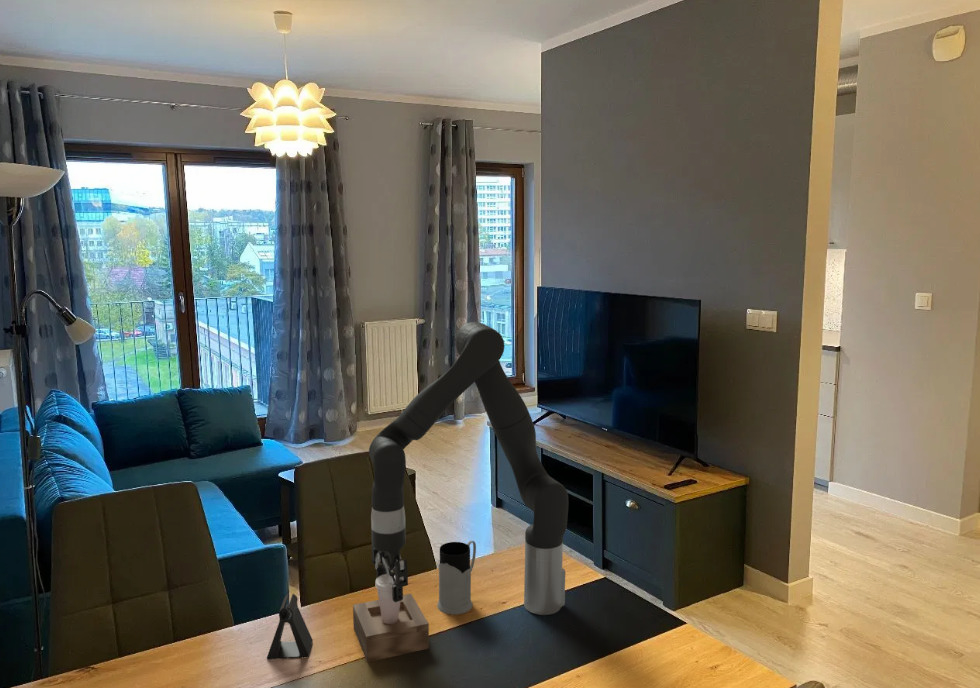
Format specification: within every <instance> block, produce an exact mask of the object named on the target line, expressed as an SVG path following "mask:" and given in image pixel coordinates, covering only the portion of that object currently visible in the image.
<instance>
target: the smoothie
mask: <svg viewBox="0 0 980 688" xmlns="http://www.w3.org/2000/svg"><path fill="white" fill-rule="evenodd" d="M391 572H394V570H391ZM394 578H395V576H394ZM374 585H375V588H376V591H377V596H378V600H379V604H380V610H381V617H382V622H384V623H386V624H393V623H395V622H397V621H398V617H399V609H400V601H398V602H394V601H393V595H392V586H393V585H392V582H391V578H390V577H388V575H387V574H384V575H381V576H379V577H378V578H377V577H376V579H375V584H374Z"/></svg>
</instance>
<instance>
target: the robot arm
mask: <svg viewBox="0 0 980 688" xmlns="http://www.w3.org/2000/svg"><path fill="white" fill-rule="evenodd" d="M455 348H456V351H457V353H458V355H459V356H458V357H457V359H456V360H455V362H454V363H453V364H452V366H450V368H449V369H447V370H446V372H445V373H443V375H441V376H440V377H439V378H437V379H436V380H435V381H433V382H432V383H430V384H428V385H427V386H426V387H425V388H423V389H422V390H421V391H420V392H419V393H418V394H417V395H415V397H413V399H412V400H411V401H410V402H409V404H407V406H406V407H405V408H404V409H403V411H401V412H400V414H399V415H398V417H396V418H395V419H394V420H393V421H391V422H390V423H389V424H388V425H387V426H386V427H384V428H383V429H382V430H381V431H380V432H378V434H377V435H376V436H375V437H374V438H373V439H372V441H371V443H370V445H369V448H368V456H369V459H370V460H371V462H372V464H373V473H374V475H373V476H374V478H373V481H374V482H373V483H372V487H371V514H370V520H371V521H370V523H371V524H370V525H371V527H370V529H371V530H370V531H371V564H373V565H374V569H375V570H376V579H377V578H378V577H379V576H381V575H384V574H387V575H388V577H390V578H391V582H392V585H393V586H392V595H393V601H394V602H398V601H401V600H402V599H403V595H404V590H403V589H404V587H406V586H409V577H408V575H409V574H408V561H407V558H403V559H402V557H401V556H402V555H401V553H400V550H401V549H402V548H403V547H404V546H405V545H406V542H407V541H406V512H405V498H404V497H405V491H404V483H405V476H406V469H407V468H406V467H407V466H406V465H407V464H406V463H407V459H406V458H407V457H406V453H405V448H407V446H409V445H410V444H411V443H412V442H413V441H419V440H421V439H422V438H423V437H424V436H425V435H426V434H427V432H429V431H430V429H431V428H432V426H434V424H435V423H436V422H437V421H438V420H439V419H440V418H441V416H442V415H443V414H444V413H445V412H446V411H447V409H448V408H450V406H451V405H452V404H453V403H454V402H455V401H456V400H457V399H458V398H459V397H460V396H461V395H462V394H463V393H465V391H466V390H468V389H469V388H470V387H471V386H472V385H473V384H474V383H475V384H474V385H475V386H476V388H477V391H478V394H479V397H480V399H481V402H482V406H483V408H484V410H485V412H486V415H487V417H488V420H489V423H490V425H491V427H492V429H493V432H494V434H495V436H496V439H497V440H498V443H499V444H500V447H501V449H502V452H503V453H504V455H505V457H506V459H507V461H508V463H509V465H510V467H511V469H512V473H513V475H514V478H515V479H514V480H515V482H516V485H517V489H518V492H519V495H520V499H521V500H522V503H523V504H524V506H526V507H527V508H528V510H529V509H530V510H531V511H532V512H533V523H532V524H530V525H529V526H527V527H526V528H525V534H524V539H525V540H524V544H525V545H524V580H523V581H524V586H523V587H524V588H523V589H524V591H523V592H524V594H523V595H524V596H523V605H524V608H525V609H526V610H527V611H528V612H530V613H532V614H534V615H540V616H548V615H554V614H556V613H558V612H559V611H560V610H561V609H562V607H564V606H565V603H566V602H565V601H566V599H565V598H566V569H565V568H563V556H564V555H563V554H564V553H563V552H564V551H563V549H564V535H566V532H567V529H568V527H567V526H568V517H569V516H568V514H569V494H568V491H567V489H566V487H565V486H564V485H563V484H562V483H560V482H559V481H557V480H556V479H554V478H553V477H551V476H550V475H549V474H548V473H547V471H546V469H545V468H544V466H543V464H542V462H541V460H540V457H539V455H538V452H537V446H536V445H537V431H536V427H535V424H534V421H533V418H532V416H531V414H530V412H529V409H528V407H527V405H526V403H525V400H524V399H523V397H522V396H521V395H520V393H519V391H518V390H517V388H515V386H514V385H513V383H512V381H511V380H510V379H509V377H508V376H507V374H506V373H505V371H504V368H503V366H502V364H501V362H500V359H501V358H502V357H503V355H504V351H505V340H504V338H503V336H502V335H501V333H500V332H498V331H497V330H496V329H494V328H492V327H490V326H488V325H487V324H484V323H481V322H479V321H478V322H477V321H471V322H467V323H465V324H463V325H462V326H461V327H460V328H459V329H458V331H457V334H456V337H455ZM391 570H393V572H391ZM394 576H395V578H394Z"/></svg>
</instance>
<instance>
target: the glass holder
mask: <svg viewBox="0 0 980 688" xmlns="http://www.w3.org/2000/svg"><path fill="white" fill-rule="evenodd" d="M471 545H472V546H473V549H472V558H471ZM476 550H477V545H476V541H474V540H469V541H468V542H467V543H465V542H461V541H450V542H445V543H444V544H442V545H441V546H440V547H439V564H438V601H437V605H436V607H437V609H438V610H439V611H440V612H442V613H443V614H447V615H462V614H465V613H467V612H469V611H471V610H472V608H473V601H472V599H471V597H472V593H471V592H472V589H471V588H472V584H471V583H472V578H471V577H472V572H473V568H474V566H475V565H474V564H475V561H476V553H477V551H476Z"/></svg>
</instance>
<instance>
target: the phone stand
mask: <svg viewBox="0 0 980 688" xmlns="http://www.w3.org/2000/svg"><path fill="white" fill-rule="evenodd" d="M289 596H290V595H289V593H288V594H285V596H284V597H283V601H282V604H281V606H280V609H279V611H278V617H279V622H278V625H277V628H276V630H275V633H274V636H273V639H272V642H271V643H270V644H271V645H270V647H269V651H268V654H267V656H266V659H267V660H286V659H289V658H290V659H305V658H304V657H308V658H309V656H310V653H311V649H312V646H313V641H314V640H313V638H312V636H311V633H310V631H309V628H308V626H307V624H306V621H305V620H304V617H303V615H302V613H301V610H300V608H299V606H298V600H299V599H298V596H297V595H296V594H294V593H292V594H291V598H290V601H289V603H288V604H287V602H288V599H289ZM285 624H289V627H290V629H291V632H292V636H293V638H294V640H291V641H281V640H282V636H283V633H284V628H285ZM302 657H303V658H302Z"/></svg>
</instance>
